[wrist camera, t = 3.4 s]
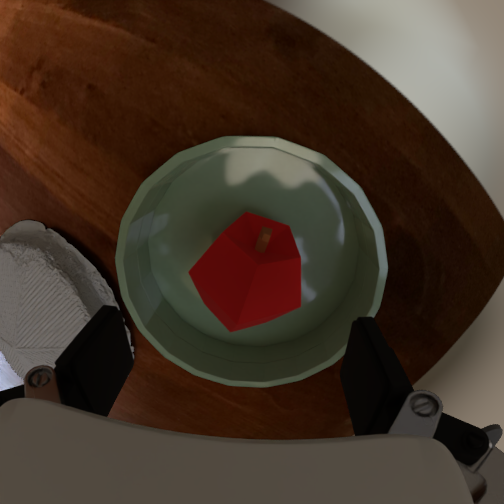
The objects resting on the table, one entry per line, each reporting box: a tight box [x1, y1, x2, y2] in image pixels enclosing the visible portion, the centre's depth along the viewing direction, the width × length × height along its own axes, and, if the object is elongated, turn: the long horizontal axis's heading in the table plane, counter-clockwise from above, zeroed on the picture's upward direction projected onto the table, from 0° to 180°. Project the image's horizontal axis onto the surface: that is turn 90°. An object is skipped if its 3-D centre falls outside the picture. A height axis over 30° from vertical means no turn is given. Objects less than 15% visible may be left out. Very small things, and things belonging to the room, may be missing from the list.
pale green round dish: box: [115, 136, 388, 387], centre depth 18 cm, size 16×16×4 cm
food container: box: [0, 220, 134, 380], centre depth 21 cm, size 20×20×7 cm
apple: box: [188, 212, 301, 332], centre depth 17 cm, size 7×7×8 cm
